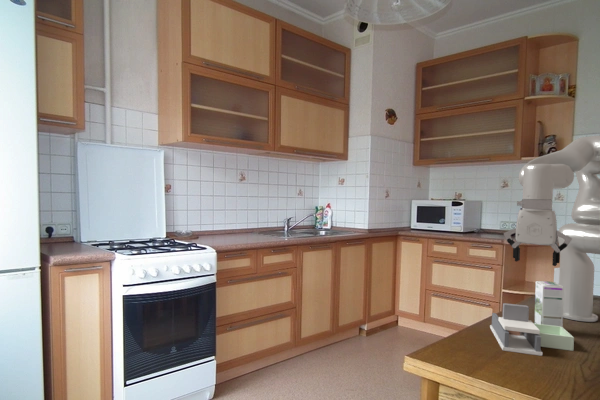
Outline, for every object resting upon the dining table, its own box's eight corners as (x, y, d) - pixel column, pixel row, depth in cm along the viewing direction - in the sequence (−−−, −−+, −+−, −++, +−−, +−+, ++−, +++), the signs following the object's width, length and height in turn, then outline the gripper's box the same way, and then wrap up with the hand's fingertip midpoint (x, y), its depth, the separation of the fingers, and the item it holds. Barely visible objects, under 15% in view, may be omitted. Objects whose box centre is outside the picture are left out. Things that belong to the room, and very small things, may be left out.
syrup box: (563, 335, 110) (565, 286, 110) (540, 333, 112) (542, 284, 111) (554, 329, 116) (556, 281, 116) (532, 327, 117) (535, 280, 117)
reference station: (490, 327, 116) (490, 312, 115) (523, 331, 113) (524, 316, 113) (502, 350, 98) (503, 332, 98) (542, 355, 96) (543, 337, 96)
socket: (526, 334, 111) (526, 322, 111) (561, 338, 108) (561, 326, 108) (535, 345, 102) (535, 332, 102) (573, 350, 100) (574, 337, 100)
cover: (498, 320, 107) (499, 302, 107) (530, 324, 105) (531, 306, 104) (504, 329, 99) (505, 310, 99) (539, 334, 97) (540, 314, 97)
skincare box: (563, 299, 151) (564, 269, 151) (552, 297, 155) (553, 267, 155) (572, 298, 153) (574, 269, 153) (562, 295, 157) (563, 267, 157)
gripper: (501, 205, 116) (500, 261, 116) (571, 207, 104) (569, 269, 105) (507, 204, 121) (506, 257, 122) (574, 206, 110) (572, 265, 110)
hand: (535, 263), depth 113 cm, fingers open, 9 cm apart
